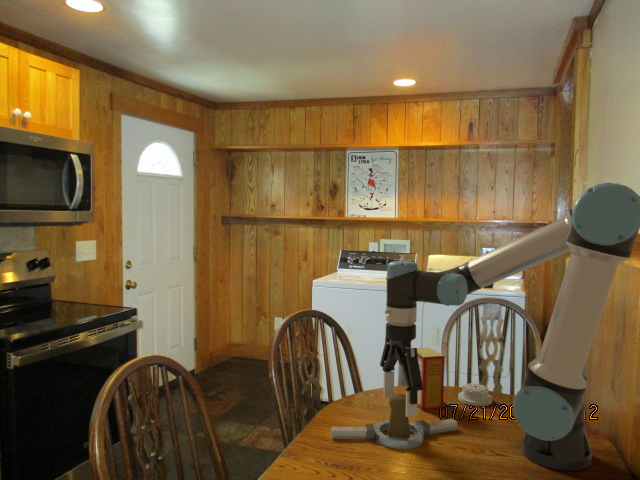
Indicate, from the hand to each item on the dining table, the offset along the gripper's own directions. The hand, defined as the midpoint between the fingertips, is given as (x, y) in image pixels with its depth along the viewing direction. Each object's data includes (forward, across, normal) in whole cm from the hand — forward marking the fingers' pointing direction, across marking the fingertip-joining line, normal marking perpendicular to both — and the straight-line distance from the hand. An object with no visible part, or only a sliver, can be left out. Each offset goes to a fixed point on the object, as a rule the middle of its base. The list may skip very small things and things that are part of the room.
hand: (399, 405), depth 130 cm
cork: (+8, 0, 0) cm, 9 cm away
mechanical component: (+9, -18, +34) cm, 39 cm away
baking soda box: (+8, -19, +18) cm, 27 cm away
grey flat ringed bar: (+8, 0, 0) cm, 8 cm away
